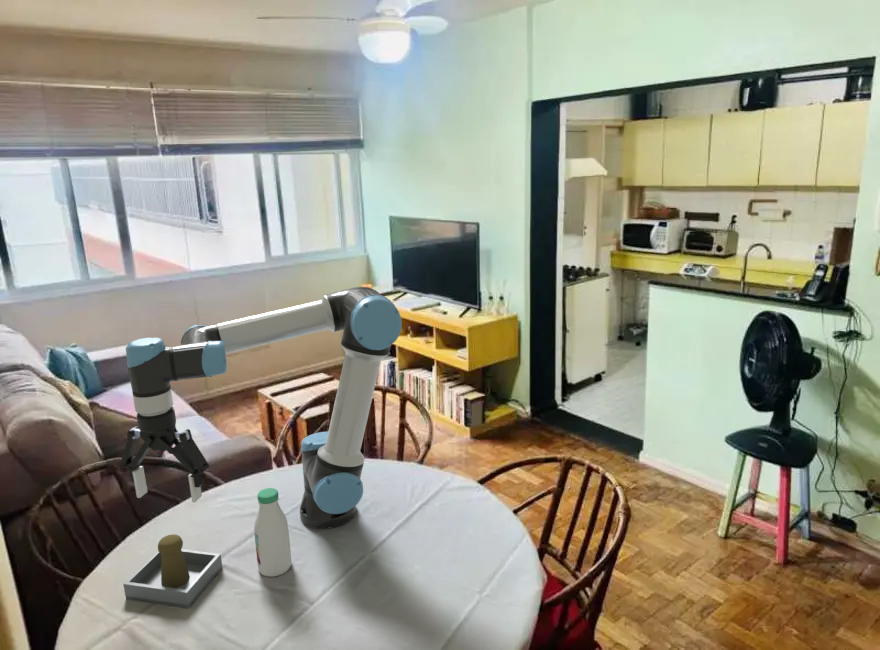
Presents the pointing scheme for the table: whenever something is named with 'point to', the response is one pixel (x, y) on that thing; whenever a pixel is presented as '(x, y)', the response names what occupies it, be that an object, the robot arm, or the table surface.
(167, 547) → the cork
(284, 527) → the milk bottle
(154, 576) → the tray
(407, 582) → the table surface
